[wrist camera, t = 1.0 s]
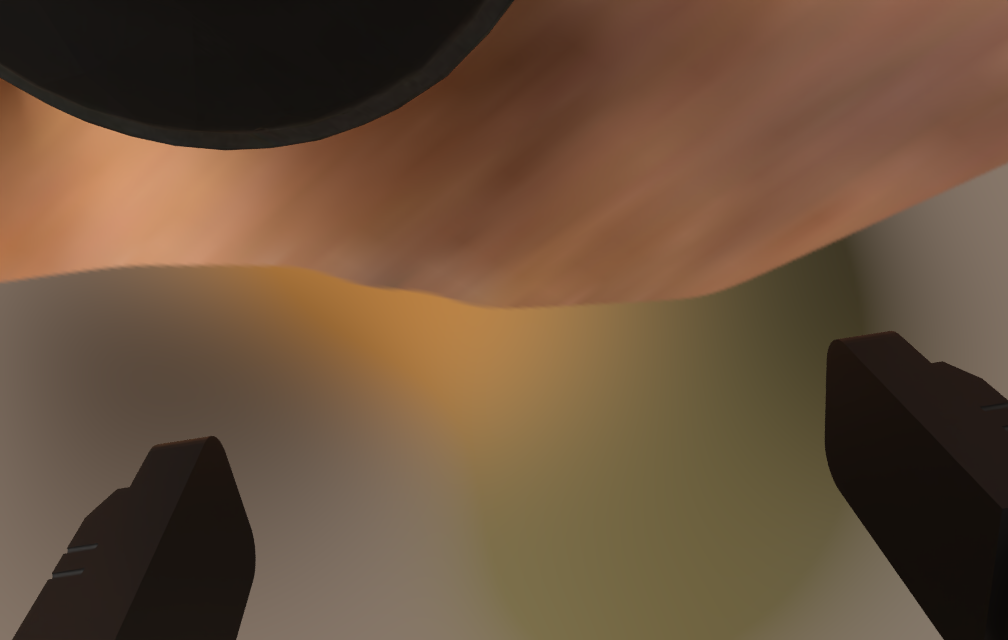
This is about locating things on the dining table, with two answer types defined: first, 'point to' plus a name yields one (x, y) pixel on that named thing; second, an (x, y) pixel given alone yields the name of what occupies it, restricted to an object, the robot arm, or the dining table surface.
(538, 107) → the dining table surface
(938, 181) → the dining table surface
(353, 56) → the beer stein
